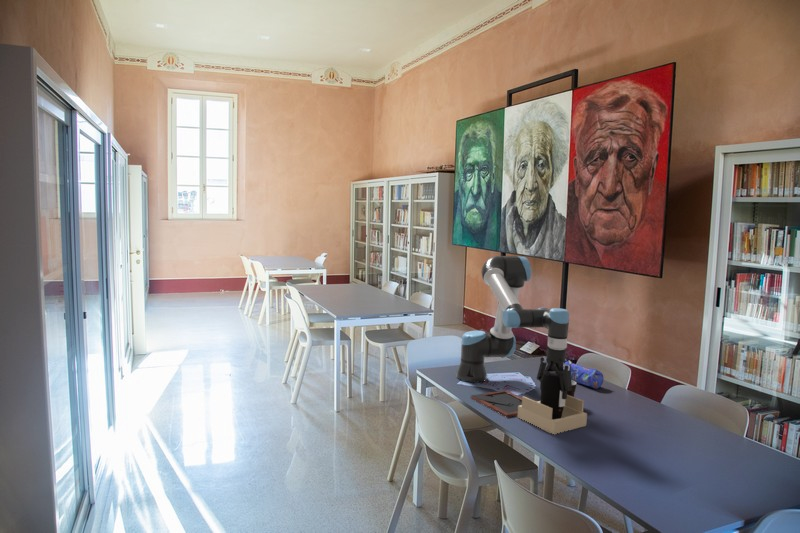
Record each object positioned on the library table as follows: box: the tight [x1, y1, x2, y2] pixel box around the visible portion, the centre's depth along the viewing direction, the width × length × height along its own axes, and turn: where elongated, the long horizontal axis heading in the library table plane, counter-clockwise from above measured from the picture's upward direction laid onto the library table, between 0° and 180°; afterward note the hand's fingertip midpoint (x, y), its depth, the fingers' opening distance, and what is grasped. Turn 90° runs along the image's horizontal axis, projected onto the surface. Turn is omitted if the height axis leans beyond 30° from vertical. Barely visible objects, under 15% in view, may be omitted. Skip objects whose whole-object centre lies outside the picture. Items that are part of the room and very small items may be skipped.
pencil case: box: [563, 360, 604, 390], centre depth 271 cm, size 22×9×10 cm, turn 33°
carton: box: [516, 395, 588, 435], centre depth 218 cm, size 19×19×10 cm
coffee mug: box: [567, 380, 578, 397], centre depth 241 cm, size 12×9×10 cm
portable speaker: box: [539, 369, 565, 420], centre depth 218 cm, size 9×9×20 cm
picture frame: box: [470, 389, 522, 418], centre depth 237 cm, size 20×2×25 cm
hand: (552, 402), depth 218 cm, fingers closed on portable speaker, 9 cm apart
